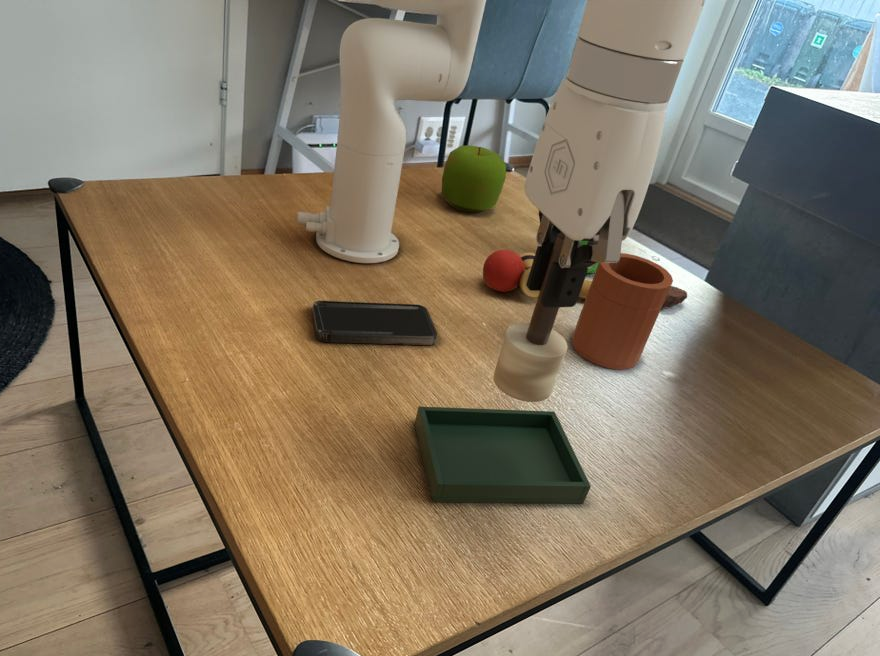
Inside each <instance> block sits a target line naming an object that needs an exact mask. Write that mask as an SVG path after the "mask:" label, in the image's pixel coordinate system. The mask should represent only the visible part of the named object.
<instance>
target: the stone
mask: <svg viewBox="0 0 880 656" xmlns="http://www.w3.org/2000/svg"><path fill="white" fill-rule="evenodd" d="M686 299H688V292H687V291H686V290H685V289H682V288H679V287H677V286H673V285H671V287H670V289H669V292H668V294H667V296H666V299H665V301H664V303H663V306H662V308H661V309H669V308H672V307H674V306H676V305H679V304H680V305H681V304H682V303H683V302H684V301H685V300H686Z"/></svg>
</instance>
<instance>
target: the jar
mask: <svg viewBox="0 0 880 656" xmlns="http://www.w3.org/2000/svg"><path fill="white" fill-rule="evenodd" d="M591 281H592V283H591V286H590V289H589V291H588V294H587V297H586V299H585V300H584V303H583V305H582V308H581V311H580V314H579V317H578V319H577V322H576V324H575V328H574V330H573V334H572V337H571V345H572V347H573V349H574V351H575V352H576V353H577V354H578V355H579V356H581V357H582V358H583V359H585V360H586V361H588V362H590V363H592V364H593V365H594V364H595V365H597V366H600V367H603V368H606V369H612V370H628V369H632V368H634V367H635V366H637V365H638V363H639V361H640V358H641V356H642V354H643V352H644V349H645V347H646V345H647V342H648V340H649V338H650V336H651V333H652V331H653V330H654V329H653V328H654V326H655V324H656V322H657V319H658V317H659V315H660V313H661V310H662V309H663V308H662V306H663V303H664V301H665V299H666V296H667V294H668V292H669V289H670V287H671V286H673V283H674V279H673V275H672V274H671V273H670V272H669V270H667V269H666V268H665V267H663V266H661V265H660V264H658V263H656V262H654V261H652V260H650V259H647V258H644V257H641V256H639V255H635V254H630V253H623V252H621V254H620V260H619V261H618V262H617V263H599V264H598V266H597V269H596V272H594V275H593V278H592V280H591Z"/></svg>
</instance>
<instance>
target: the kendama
mask: <svg viewBox="0 0 880 656" xmlns="http://www.w3.org/2000/svg"><path fill="white" fill-rule="evenodd" d="M534 257H535V253H534V252H523V253H520V254H518V253H516V252H515V251H513V250H510V249H497V250H496V251H493V252H492V253H490V254H489V255H488V256H487V258H486V259H485V261H484V264H483V266H482V278H483V282H484V283H485V284H486V285H487V286H488V287H489V288H490V289H491V290H493V291H497V292H510V291H513V290H518V289H520V290H521V292H522V293H523V294H524V295H525V296H527V297H529V298H532V299H538V295H539V292H540V291H531V290H529V289H528V287H527V286H526V284H527V280H528V277H529V273H530V270H531V267H532V263H533V260H534ZM591 283H592V280H588V279H585V280H584V283H583V285H582V288H581V291H580V294H579V297H578V298H582V299H585V300H586V297H587V294H588V291H589V289H590V286H591ZM518 286H519V287H518Z"/></svg>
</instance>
